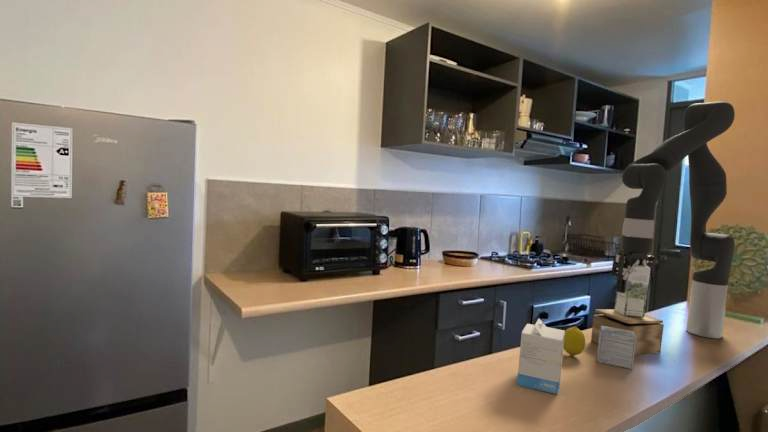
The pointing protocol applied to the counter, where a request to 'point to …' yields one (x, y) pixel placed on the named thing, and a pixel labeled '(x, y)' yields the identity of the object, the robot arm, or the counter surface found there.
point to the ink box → (541, 357)
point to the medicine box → (616, 347)
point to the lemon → (574, 341)
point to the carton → (645, 332)
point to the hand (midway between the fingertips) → (631, 291)
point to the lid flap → (627, 317)
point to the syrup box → (634, 293)
